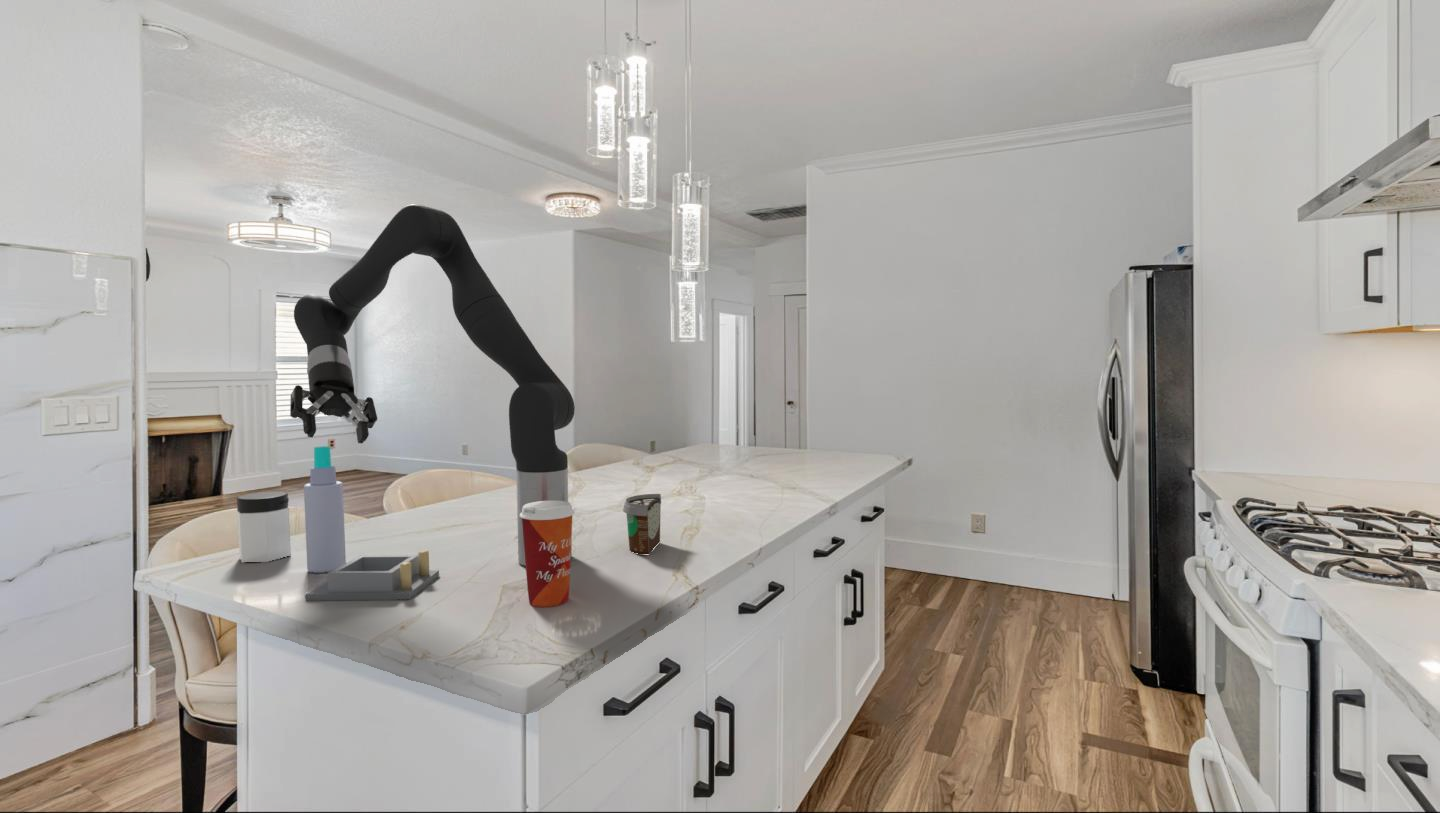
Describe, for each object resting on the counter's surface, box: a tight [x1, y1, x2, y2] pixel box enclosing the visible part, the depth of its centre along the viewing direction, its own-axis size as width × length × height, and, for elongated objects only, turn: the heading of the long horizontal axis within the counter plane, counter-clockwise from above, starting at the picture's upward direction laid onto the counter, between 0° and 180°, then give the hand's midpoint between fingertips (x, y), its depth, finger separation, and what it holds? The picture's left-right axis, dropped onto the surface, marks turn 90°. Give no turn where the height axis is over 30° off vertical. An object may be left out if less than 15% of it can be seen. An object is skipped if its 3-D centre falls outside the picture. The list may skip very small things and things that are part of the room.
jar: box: [236, 491, 292, 564], centre depth 132 cm, size 9×8×12 cm
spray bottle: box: [303, 446, 347, 574], centre depth 124 cm, size 6×6×22 cm
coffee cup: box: [519, 501, 576, 608], centre depth 107 cm, size 8×8×15 cm
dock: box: [304, 549, 440, 602], centre depth 114 cm, size 16×12×5 cm
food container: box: [622, 493, 662, 555], centre depth 137 cm, size 12×6×10 cm, turn 172°
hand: (337, 437), depth 126 cm, fingers open, 8 cm apart
